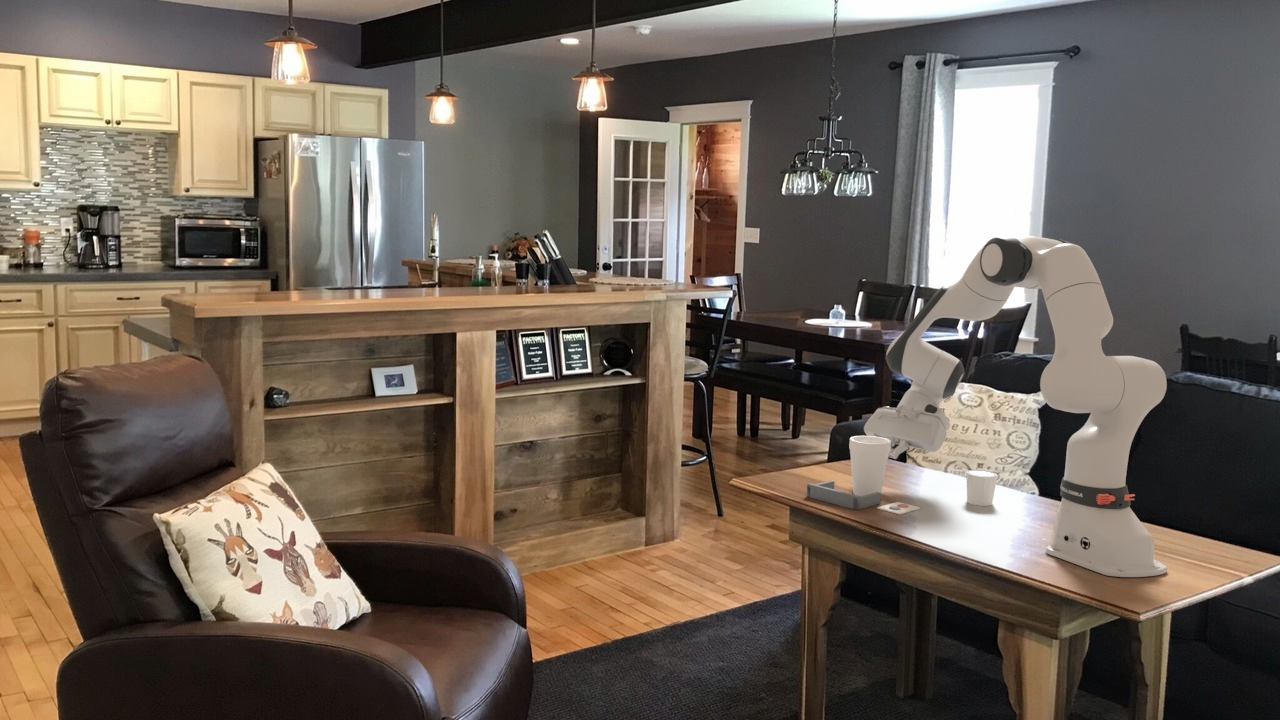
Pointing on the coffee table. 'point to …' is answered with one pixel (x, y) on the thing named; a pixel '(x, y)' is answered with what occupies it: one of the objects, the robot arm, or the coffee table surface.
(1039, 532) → the coffee table surface
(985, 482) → the shot glass
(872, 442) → the foam cup
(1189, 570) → the coffee table surface
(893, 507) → the card
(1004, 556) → the coffee table surface
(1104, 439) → the robot arm
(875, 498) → the grey cup holder
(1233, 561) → the coffee table surface
